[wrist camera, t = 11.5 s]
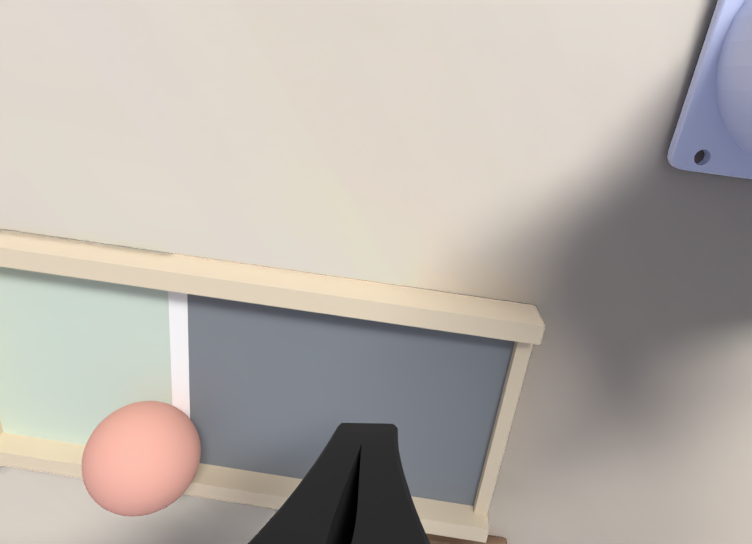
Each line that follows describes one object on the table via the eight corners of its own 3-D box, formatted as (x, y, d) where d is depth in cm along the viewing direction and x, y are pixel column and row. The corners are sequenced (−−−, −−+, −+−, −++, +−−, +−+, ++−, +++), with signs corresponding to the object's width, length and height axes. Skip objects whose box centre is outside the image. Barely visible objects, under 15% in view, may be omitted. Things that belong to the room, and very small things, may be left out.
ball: (152, 400, 25) (198, 374, 22) (185, 490, 24) (236, 475, 21) (50, 437, 21) (89, 411, 18) (85, 544, 20) (131, 534, 18)
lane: (535, 305, 20) (557, 351, 17) (481, 510, 24) (491, 580, 21) (-43, 222, 21) (-130, 250, 18) (-1, 434, 25) (-66, 490, 22)
